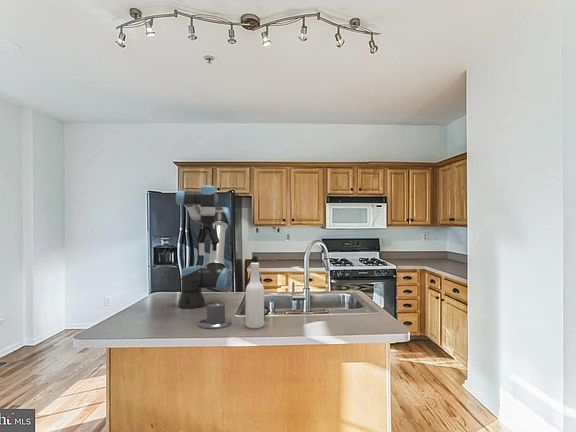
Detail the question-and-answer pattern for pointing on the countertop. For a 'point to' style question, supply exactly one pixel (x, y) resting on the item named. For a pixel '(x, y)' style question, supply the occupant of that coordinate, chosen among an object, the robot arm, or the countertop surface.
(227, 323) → the hub
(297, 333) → the countertop surface
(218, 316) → the knob
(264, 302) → the mug
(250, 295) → the alcohol
